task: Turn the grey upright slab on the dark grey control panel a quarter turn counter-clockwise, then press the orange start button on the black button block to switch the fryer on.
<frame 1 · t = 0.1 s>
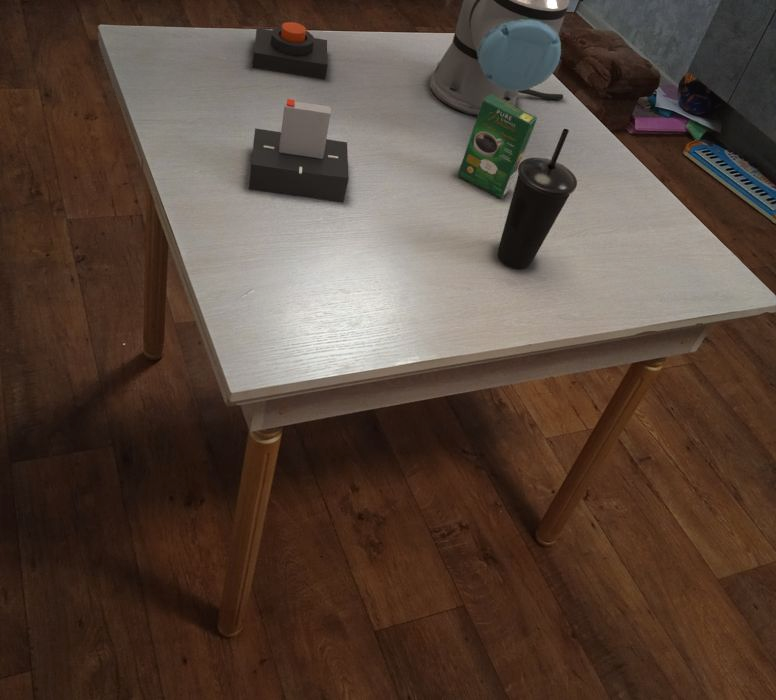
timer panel: (297, 177, 116), on the table
drinking cup: (513, 259, 113), on the table
start button: (293, 32, 136), point 5 cm above the table, slide at 0.1 cm
coffee box: (482, 186, 125), on the table
button block: (289, 61, 139), on the table
grey upright slab: (304, 129, 111), point 8 cm above the table, hinge at 0.0°
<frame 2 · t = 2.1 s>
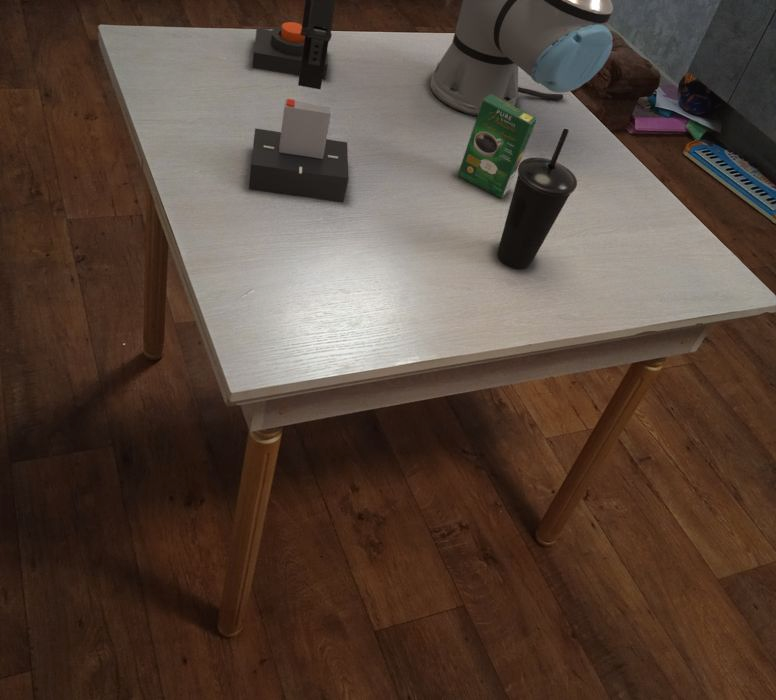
hand: (310, 60, 104), 17 cm above the table, tool pointing down, fingers open, 13 cm apart
nothing on the table moved.
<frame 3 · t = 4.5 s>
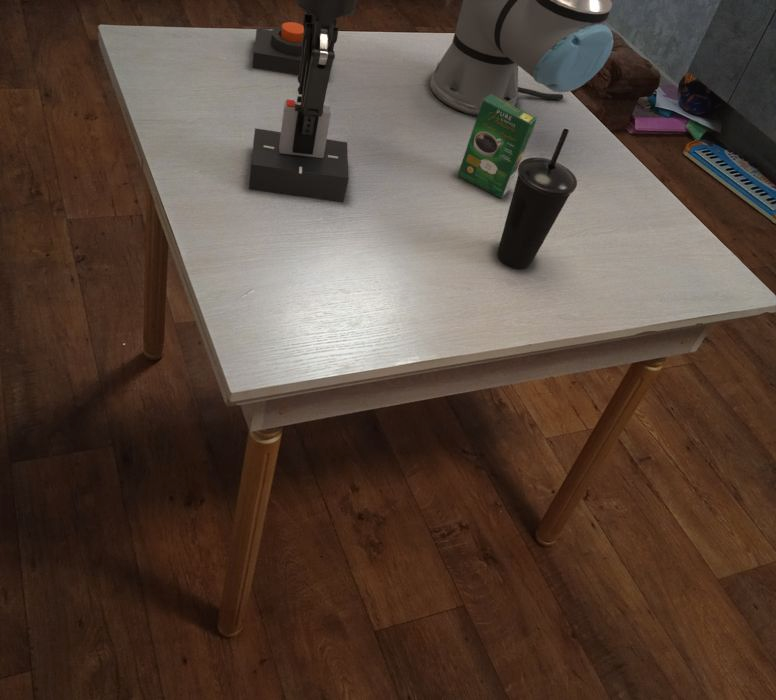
hand: (302, 146, 112), 5 cm above the table, tool pointing down, fingers closed on grey upright slab, 2 cm apart
grey upright slab: (304, 129, 111), point 8 cm above the table, hinge at 3.7°, touching gripper
everything else where it was.
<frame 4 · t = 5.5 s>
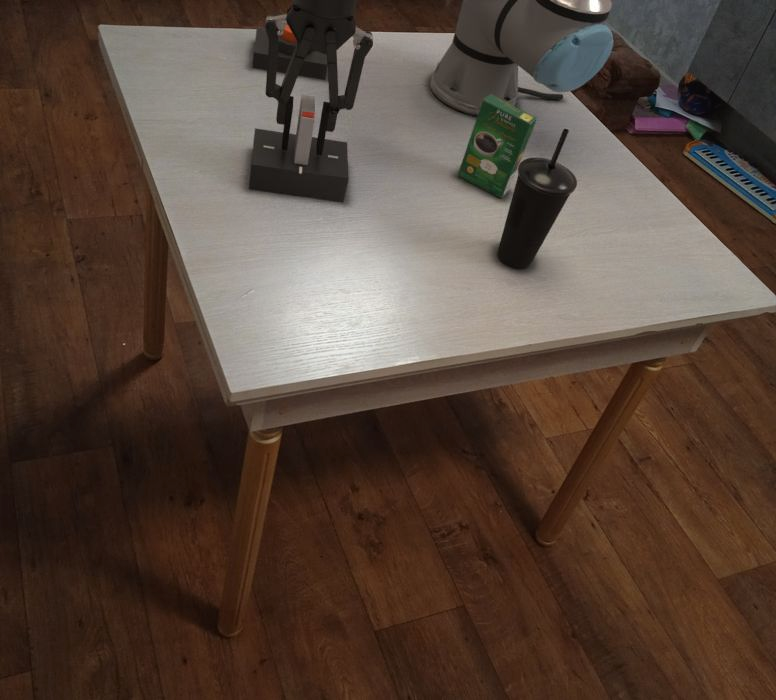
hand: (301, 146, 112), 5 cm above the table, tool pointing down, fingers open, 4 cm apart
grey upright slab: (304, 129, 111), point 8 cm above the table, hinge at 90.0°
everything else where it was.
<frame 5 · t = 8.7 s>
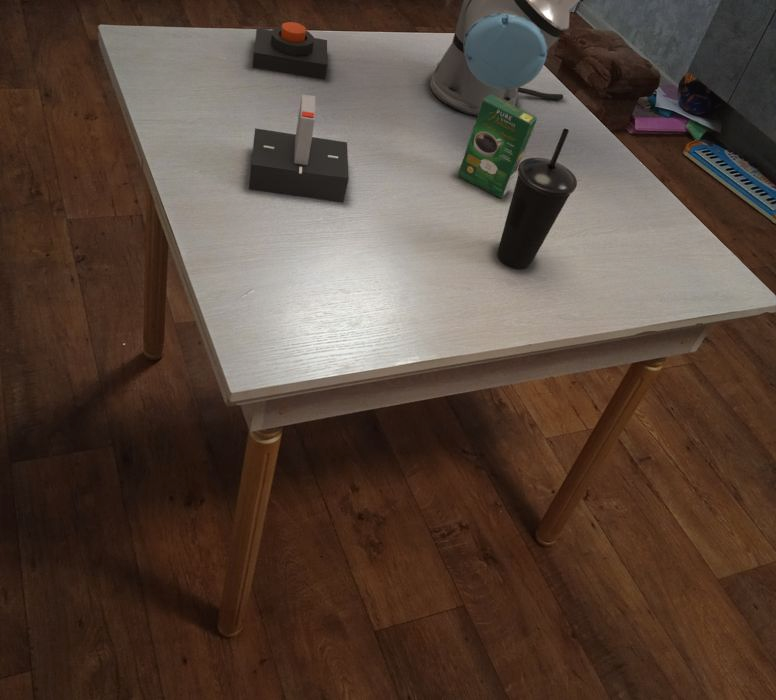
nothing on the table moved.
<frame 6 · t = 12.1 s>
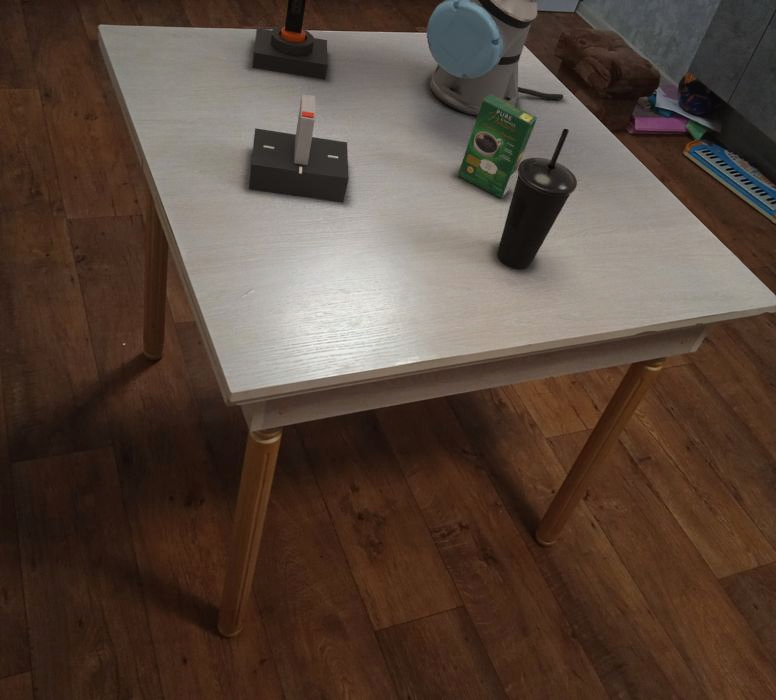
hand: (293, 29, 135), 6 cm above the table, tool pointing down, fingers closed
start button: (292, 36, 136), point 4 cm above the table, slide at -0.5 cm, touching gripper
everything else where it was.
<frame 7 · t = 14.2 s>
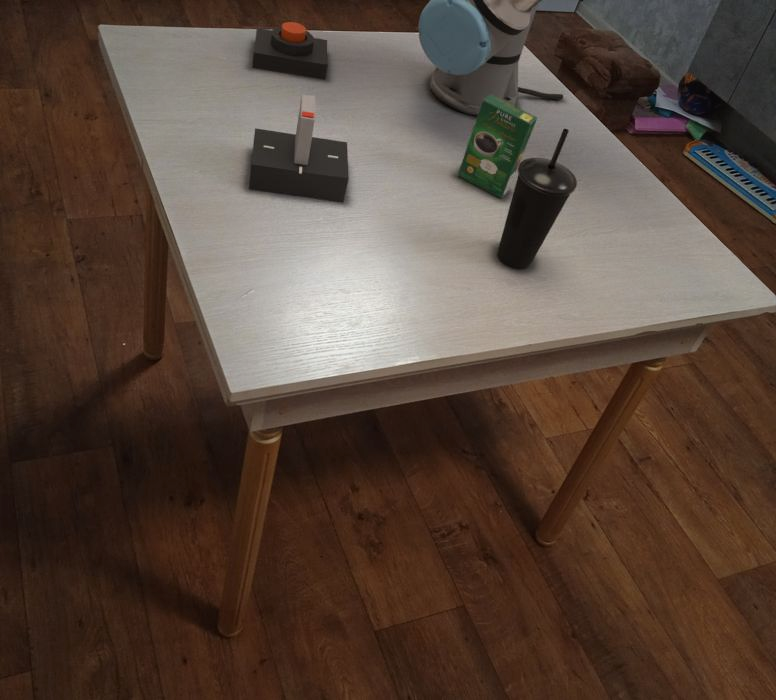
start button: (293, 32, 136), point 5 cm above the table, slide at 0.1 cm
everything else where it was.
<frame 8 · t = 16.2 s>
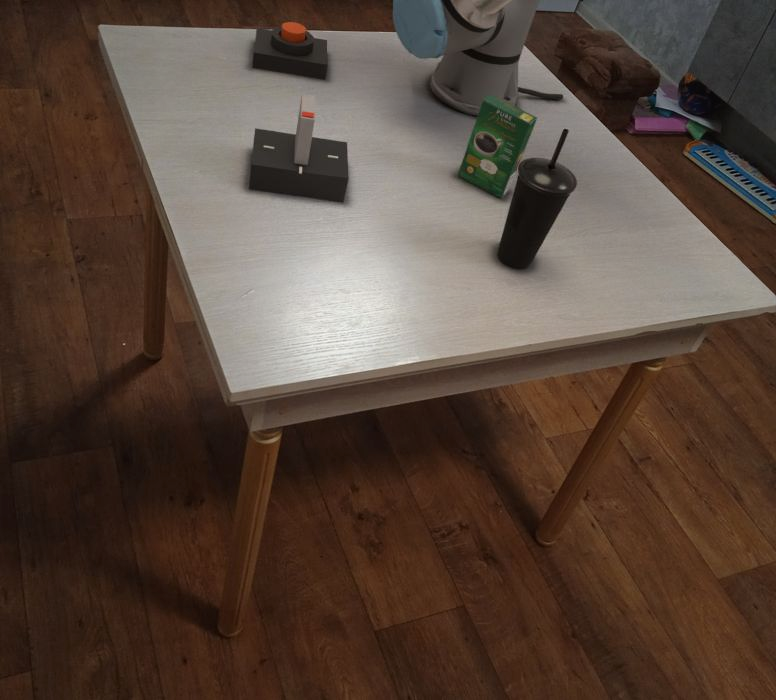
nothing on the table moved.
at the end: grey upright slab at +90° (first picture: +0°); start button pushed in 1.0 cm at the most during the clip, back to where it started at the end; start button slide at 0.1 cm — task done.
